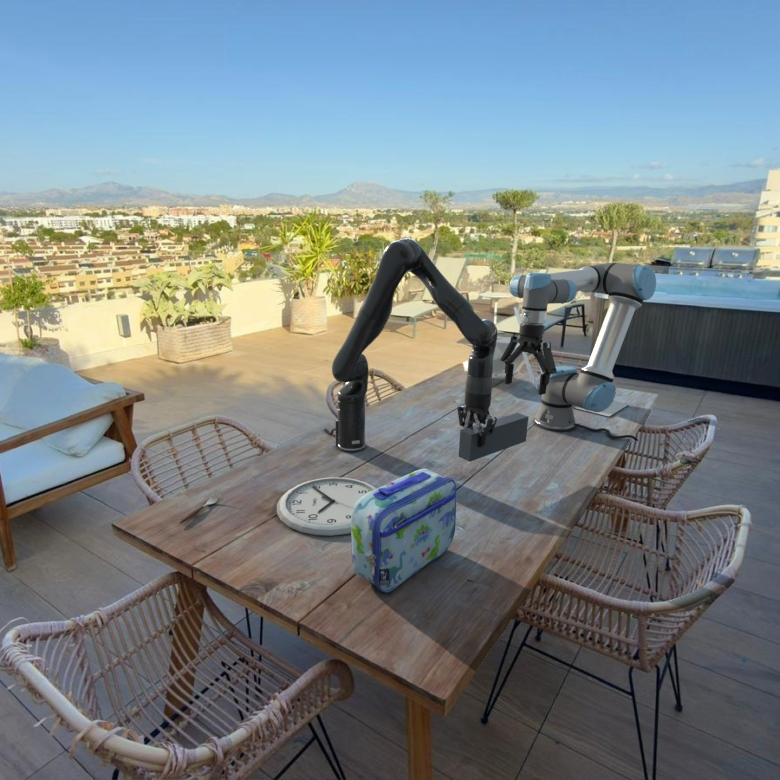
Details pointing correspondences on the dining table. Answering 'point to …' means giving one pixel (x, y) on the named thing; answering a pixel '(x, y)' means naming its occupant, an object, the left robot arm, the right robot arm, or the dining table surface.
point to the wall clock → (322, 505)
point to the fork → (209, 502)
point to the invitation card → (608, 409)
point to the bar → (494, 437)
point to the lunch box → (402, 527)
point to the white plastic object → (501, 347)
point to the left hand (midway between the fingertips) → (474, 443)
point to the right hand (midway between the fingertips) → (524, 388)
